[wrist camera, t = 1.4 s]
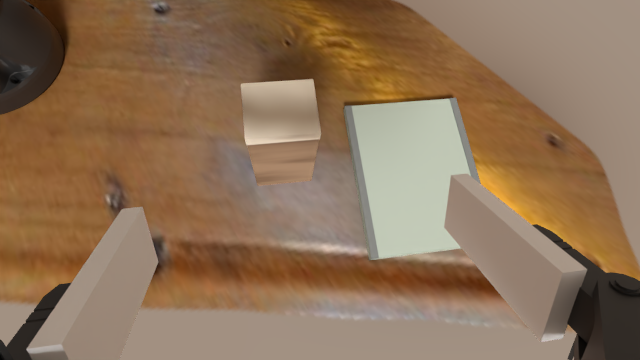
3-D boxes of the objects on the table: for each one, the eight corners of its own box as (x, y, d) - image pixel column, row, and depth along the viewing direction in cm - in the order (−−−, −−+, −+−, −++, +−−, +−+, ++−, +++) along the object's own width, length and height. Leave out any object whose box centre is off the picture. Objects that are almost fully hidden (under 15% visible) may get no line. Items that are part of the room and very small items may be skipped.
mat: (343, 110, 44) (344, 105, 43) (452, 102, 46) (455, 97, 45) (369, 260, 38) (371, 258, 37) (492, 244, 40) (497, 242, 39)
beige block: (253, 144, 42) (240, 83, 30) (306, 139, 42) (313, 79, 31) (257, 186, 40) (244, 138, 29) (311, 180, 41) (321, 132, 29)
